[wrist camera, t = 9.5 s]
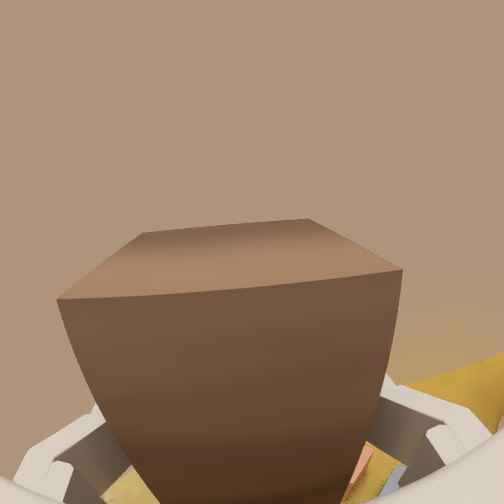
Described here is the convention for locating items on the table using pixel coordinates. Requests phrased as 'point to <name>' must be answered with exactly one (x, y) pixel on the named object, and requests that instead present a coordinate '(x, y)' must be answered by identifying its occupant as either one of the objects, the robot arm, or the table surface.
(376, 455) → the table surface
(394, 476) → the cube slate
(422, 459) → the robot arm
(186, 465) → the block walnut
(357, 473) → the cube terracotta
